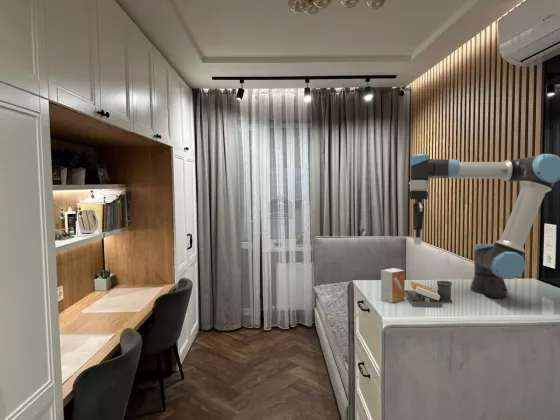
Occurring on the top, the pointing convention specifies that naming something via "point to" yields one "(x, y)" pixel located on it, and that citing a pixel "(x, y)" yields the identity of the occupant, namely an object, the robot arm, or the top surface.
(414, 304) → the plate
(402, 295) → the small box
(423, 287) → the paddle mid
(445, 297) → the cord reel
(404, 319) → the top surface
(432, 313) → the top surface
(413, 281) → the paddle far
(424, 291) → the beige rectangular tile
